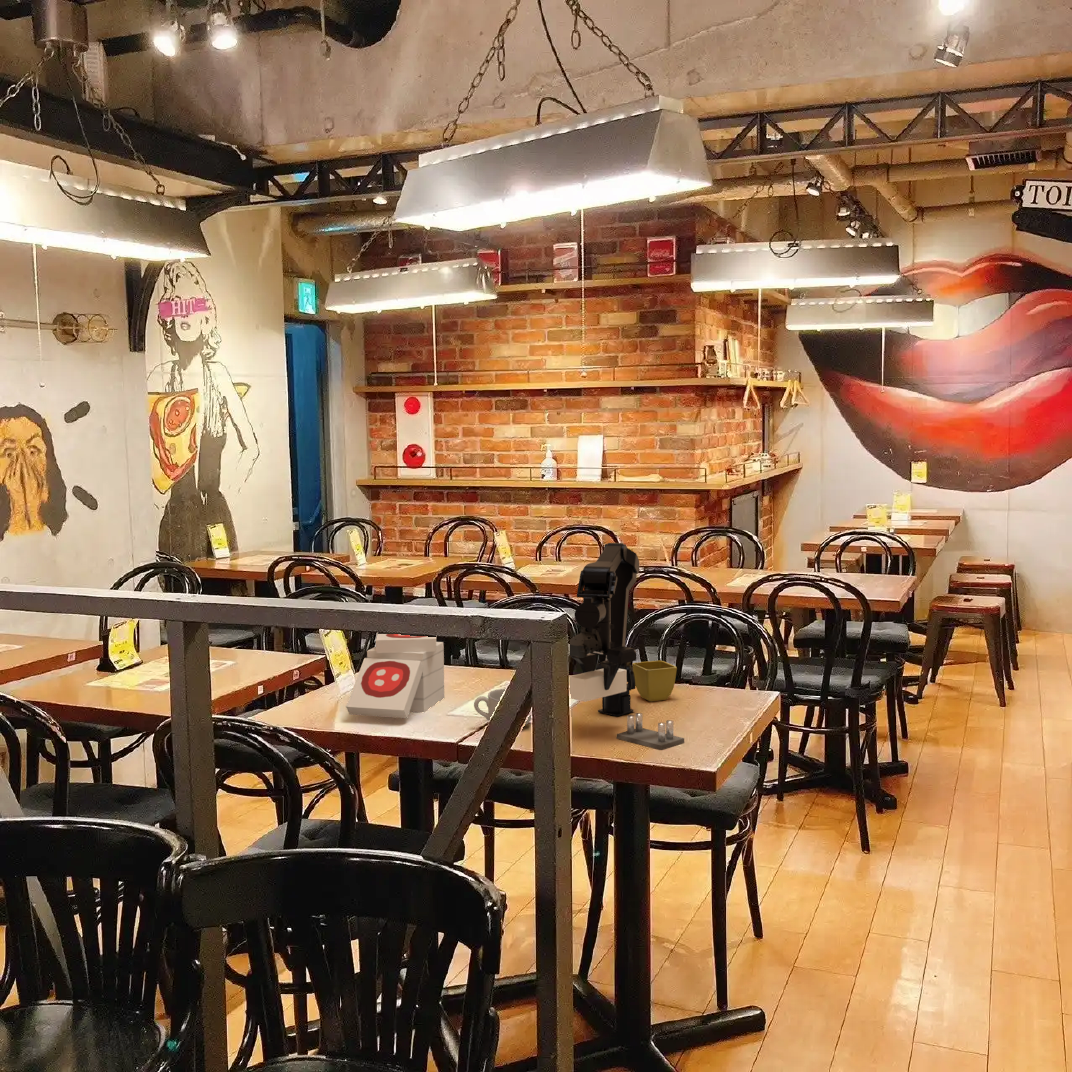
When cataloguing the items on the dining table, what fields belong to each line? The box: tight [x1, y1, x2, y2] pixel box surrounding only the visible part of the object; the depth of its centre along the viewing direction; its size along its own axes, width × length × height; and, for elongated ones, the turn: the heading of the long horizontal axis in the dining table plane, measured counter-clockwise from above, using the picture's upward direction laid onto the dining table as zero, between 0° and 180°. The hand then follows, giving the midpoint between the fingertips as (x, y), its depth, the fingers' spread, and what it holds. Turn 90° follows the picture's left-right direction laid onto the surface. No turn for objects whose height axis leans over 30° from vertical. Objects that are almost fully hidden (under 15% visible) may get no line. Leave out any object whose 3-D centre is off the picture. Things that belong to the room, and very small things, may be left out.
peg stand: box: [616, 712, 685, 751], centre depth 252 cm, size 13×8×5 cm, turn 44°
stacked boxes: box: [345, 633, 445, 719], centre depth 281 cm, size 19×30×18 cm, turn 165°
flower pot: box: [631, 659, 678, 703], centre depth 290 cm, size 9×9×9 cm
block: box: [569, 669, 628, 703], centre depth 258 cm, size 14×5×5 cm, turn 134°
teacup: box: [473, 687, 532, 725], centre depth 265 cm, size 14×11×8 cm
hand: (598, 687), depth 258 cm, fingers closed on block, 5 cm apart
